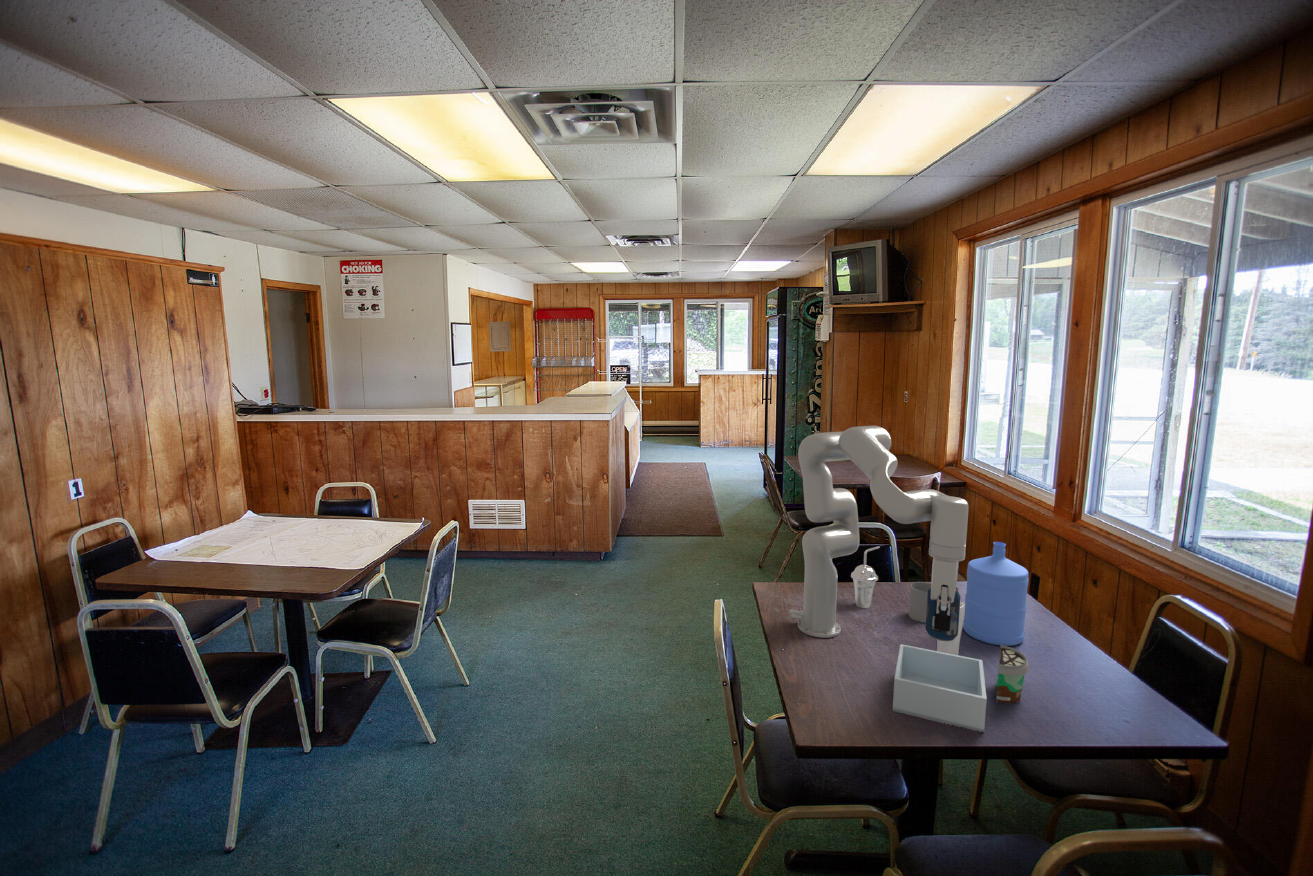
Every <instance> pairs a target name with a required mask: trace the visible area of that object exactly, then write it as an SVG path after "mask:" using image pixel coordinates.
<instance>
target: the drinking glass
mask: <svg viewBox="0 0 1313 876" xmlns="http://www.w3.org/2000/svg"><path fill="white" fill-rule="evenodd" d="M964 616H965V603H963V601H961V600H960V612H959V626H958V635H957V636H956V638H955V639H954V640H952V641H940V640H936V651H938V652H943V653H948V654H954V655H959V651H960V643H961V638H962V631H963V621H964Z"/></svg>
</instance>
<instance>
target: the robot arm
mask: <svg viewBox="0 0 1313 876" xmlns="http://www.w3.org/2000/svg"><path fill="white" fill-rule="evenodd" d="M891 447H892V438H891V435H890V433H889V432H888V431H887V430H886V429H885V428H883V427H881V426H878V425H866V426H864V425H863V426H861V425H860V426H852V427H849V428H847V429H845V430H844V431H829V432H828V431H827V432H826V431H825V432H818V433H813V434H809V435H808V436H806V437H805V438H804V439H802V441H801V442H800V445H799V446H798V451H797V453H798V454H797V456H798V457H797V458H798V462H799V467H800V471H801V475H802V486H803V499H804V501H803V503H804V512H805V515H806V517H807V519H808V520H809V521H810V522H813V523H827V522H833V524H831V525H823V526H816V527H813V528H810V529H809V530H808V529H807V531H805V533H804V534H803V536H802V540H801V545H802V552H803V553H802V554H803V559H804V578H803V579H804V582H803V584H804V585H803V610H802V609H801V610H796V609H789V612H788V614H789V615H788V616H790V617H791V619H792V620H797V628H798V629H799V631H800V632H802V633H803V634H805V635H808V636H810V637H813V638H814V637H815V638H821V639H823V638H824V639H825V638H832V637H837V636H839V635H840V634H841V630H842V628H841V625H840V623H838V622H837V619H836V618H837V600H838V599H837V598H838V597H837V596H838V570H837V568H836V566H835V564H834V563H833V559H836V558H839V557H845V556H849V555H853V554H854V553H855V552H857V550H858V549H859V546H860V528H859V525H860V524H859V513H858V504H857V501H856V498H855V497H854V495H853V493H852V492H851V491H850V490H848V489H846V488H844V487H843V488H842V487H836V488H834V486H833V475H832V473H831V471H830V469H829V467H828V466H827V465H826V462H838V461H840V462H841V461H847V460H849V461H851V462H852V463H854V465H855V466H856V467H858V469H860V470H861V472H863V474H864V475H865V476H866V477H868V479H869V489H870V492H871V495H872V496H871V497H872V499H874V502H875V503H876V504H877V506H878V507H879V508H880V509H881V510H882V511H883V513H885V514H886V515H887V516H888V517H890V518H891V519H892V520H893V521H894V522H897V523H899V524H902V525H910V524H914V523H921V522H930V532H929V548H928V555H929V556H930V557H931V558H933V559H932V565H931V567H932V568H931V578H930V579H931V581H930V582H931V583H930V584H931V597H930V598H931V599H932V600H933V599H934V600H936V599H937V611H936V612H935V623H934V628H935V629H937V630H943V631H950V619H951V614H950V603H953V602H954V597H955V591H956V587H957V583H958V576H959V575H958V573H959V563H960V562H962V561H964V560H965V559H966V548H967V546H966V545H967V534H968V523H969V522H968V518H969V503H968V501H966V499H964V498H961V497H959V496H958V497H956V496H952V495H951V496H950V495H947V494H945V493H943V492H941V491H938V490H935V489H933V488H932V489H931V488H928V489H919V490H909V491H903V490H901V489H900V488H899V487H898V486H897V485H896V484H895V483H893V481H892V480H891V477H892V476H893V475H894V473H895V472H896V470H897V468H898V463H899V462H898V459H897V457H896V455H894V454H893V453H892V452H890V449H891ZM941 585H942V591H941ZM939 594H940V595H939ZM939 596H941V600H940V599H939ZM947 598H949V601H947ZM939 603H941V605H939ZM947 604H948V606H947Z"/></svg>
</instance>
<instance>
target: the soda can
mask: <svg viewBox="0 0 1313 876" xmlns="http://www.w3.org/2000/svg"><path fill="white" fill-rule="evenodd" d="M941 591H942V585H941ZM939 595H940V594H939ZM930 597H931V587H930V589H929V590H928V595H927V610H926V623H925V626H924V628H925V631H926V632H927V634H928V636H929V637H930V638H932V639H934V640H936V641H937V640H940V641H952V640H954V639H955V638H956V636H957V635H958V626H959V612H960V601H961V594H960V592H959V588H958V587H957V586H956V591H955V597H954V602H953V603H950V614H951V619H950V631H943V630H937V629H935V628H934V623H935V612H936V611H937V599H936V600H934V599H933V600H932V599H931V598H930ZM939 599H940V600H941V596H939ZM947 601H949V598H947ZM939 605H941V603H939ZM947 606H948V604H947Z"/></svg>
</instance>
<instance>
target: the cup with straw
mask: <svg viewBox="0 0 1313 876" xmlns="http://www.w3.org/2000/svg"><path fill="white" fill-rule="evenodd" d="M880 548H881V547H880V546H879V545H878V546H875V547H874V546H873V547H871V548H868V549H866V550H865V551H864V553H863V564H860V565H857V566H856V567H855V569H854V570H853V571H852V572H851V574H850V577H851V579H852V580H853V581H852V582H853V584H854V585H853V586H854V597H855V599H854V600H855V606H856V607H858V608H860V607H861V609H868V608H871V603H872V599H873V594H874V587H875V585H876V582H877V581H879V576H878V575H877V574H876V571H875V569H874V568H873V567H872V566H870V565H867V554H868V552H871V551H874V550H879V549H880Z"/></svg>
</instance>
